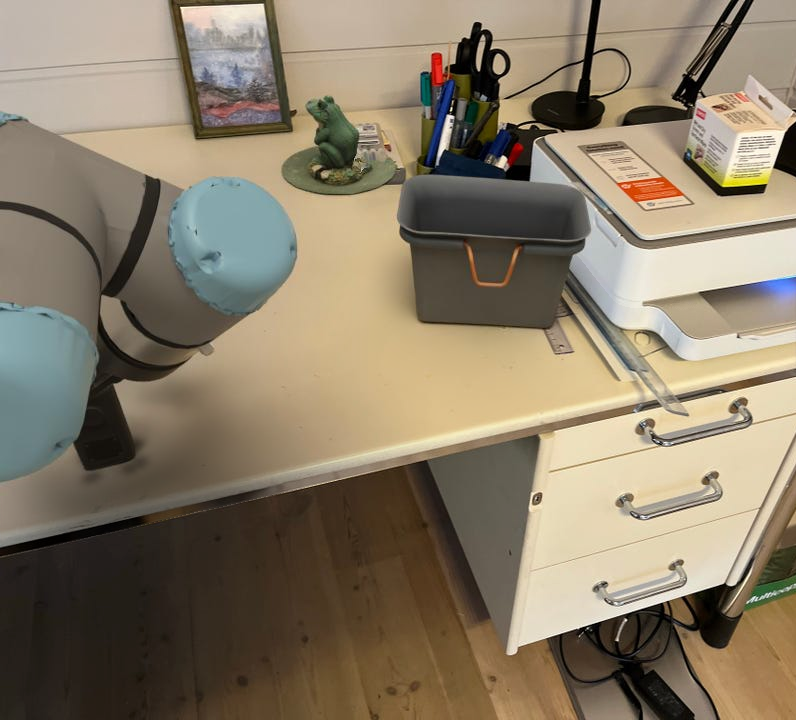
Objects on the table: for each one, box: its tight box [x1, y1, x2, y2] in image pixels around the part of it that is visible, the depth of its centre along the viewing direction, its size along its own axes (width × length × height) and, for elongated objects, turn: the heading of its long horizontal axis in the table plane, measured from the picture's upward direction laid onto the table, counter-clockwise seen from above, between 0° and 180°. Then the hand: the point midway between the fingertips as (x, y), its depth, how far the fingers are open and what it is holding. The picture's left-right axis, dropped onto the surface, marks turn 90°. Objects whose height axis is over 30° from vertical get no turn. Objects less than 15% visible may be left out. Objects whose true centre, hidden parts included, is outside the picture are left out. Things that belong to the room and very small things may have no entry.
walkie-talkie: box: [72, 377, 136, 471], centre depth 67 cm, size 5×3×15 cm
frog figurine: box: [280, 94, 397, 195], centre depth 116 cm, size 18×18×12 cm
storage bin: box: [396, 174, 592, 329], centre depth 88 cm, size 21×16×14 cm
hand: (71, 396), depth 68 cm, fingers open, 13 cm apart
